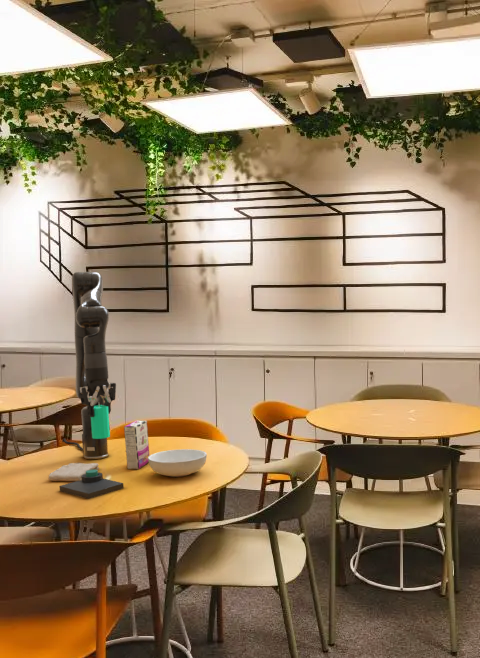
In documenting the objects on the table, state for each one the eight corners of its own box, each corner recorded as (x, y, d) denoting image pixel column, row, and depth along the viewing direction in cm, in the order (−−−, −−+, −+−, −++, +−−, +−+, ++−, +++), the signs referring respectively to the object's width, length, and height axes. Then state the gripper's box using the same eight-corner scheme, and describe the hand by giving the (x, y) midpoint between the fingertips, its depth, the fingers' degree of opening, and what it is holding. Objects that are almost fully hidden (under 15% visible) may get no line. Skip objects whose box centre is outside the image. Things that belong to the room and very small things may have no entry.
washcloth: (100, 469, 253) (99, 461, 253) (80, 482, 236) (79, 474, 235) (70, 469, 255) (69, 461, 254) (48, 482, 237) (47, 473, 237)
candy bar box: (138, 461, 263) (135, 420, 261) (150, 462, 262) (147, 420, 260) (126, 469, 252) (123, 426, 250) (138, 469, 251) (136, 426, 249)
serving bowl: (216, 467, 249) (215, 449, 249) (191, 483, 230) (190, 463, 229) (166, 464, 256) (165, 447, 255) (137, 479, 237) (136, 460, 236)
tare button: (83, 476, 232) (83, 471, 231) (93, 473, 235) (92, 468, 234) (90, 478, 229) (90, 473, 229) (100, 475, 232) (100, 470, 232)
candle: (93, 435, 233) (91, 401, 232) (111, 434, 234) (109, 400, 232) (90, 439, 227) (88, 403, 226) (108, 438, 228) (106, 403, 226)
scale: (58, 491, 226) (58, 481, 225) (94, 481, 237) (94, 471, 237) (88, 499, 216) (87, 488, 215) (124, 488, 227) (124, 478, 226)
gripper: (106, 363, 236) (109, 411, 238) (71, 367, 224) (74, 417, 226) (120, 364, 231) (123, 412, 233) (85, 368, 220) (88, 419, 222)
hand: (99, 415), depth 230 cm, fingers closed on candle, 6 cm apart
